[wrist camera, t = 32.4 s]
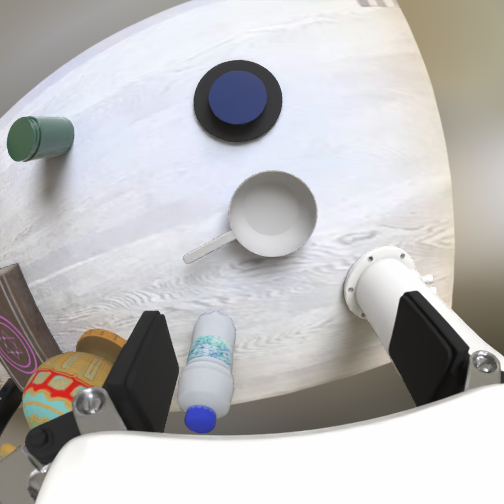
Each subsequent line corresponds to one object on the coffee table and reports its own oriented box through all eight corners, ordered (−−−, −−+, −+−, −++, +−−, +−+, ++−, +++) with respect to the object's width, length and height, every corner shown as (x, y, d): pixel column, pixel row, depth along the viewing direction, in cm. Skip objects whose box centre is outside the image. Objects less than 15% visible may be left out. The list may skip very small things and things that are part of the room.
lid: (212, 127, 33) (210, 127, 31) (208, 76, 31) (206, 73, 29) (268, 123, 33) (269, 122, 31) (264, 72, 30) (265, 68, 29)
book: (-27, 277, 41) (-40, 286, 37) (19, 262, 40) (3, 273, 35) (29, 379, 52) (21, 391, 48) (84, 385, 51) (76, 400, 46)
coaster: (278, 59, 30) (278, 57, 30) (284, 139, 34) (285, 138, 34) (192, 66, 30) (191, 65, 30) (197, 145, 34) (197, 145, 34)
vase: (51, 324, 45) (-29, 431, 17) (123, 303, 43) (32, 456, 15) (103, 394, 52) (58, 502, 24) (176, 386, 50) (145, 527, 22)
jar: (73, 112, 32) (33, 109, 23) (75, 151, 34) (36, 156, 25) (44, 123, 32) (5, 124, 23) (47, 159, 34) (7, 167, 25)
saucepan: (324, 226, 38) (331, 234, 35) (209, 281, 41) (205, 294, 38) (290, 153, 35) (294, 155, 31) (169, 217, 38) (161, 225, 34)
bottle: (194, 337, 45) (171, 439, 26) (195, 303, 43) (165, 406, 24) (235, 342, 45) (229, 446, 27) (239, 308, 43) (234, 415, 24)
